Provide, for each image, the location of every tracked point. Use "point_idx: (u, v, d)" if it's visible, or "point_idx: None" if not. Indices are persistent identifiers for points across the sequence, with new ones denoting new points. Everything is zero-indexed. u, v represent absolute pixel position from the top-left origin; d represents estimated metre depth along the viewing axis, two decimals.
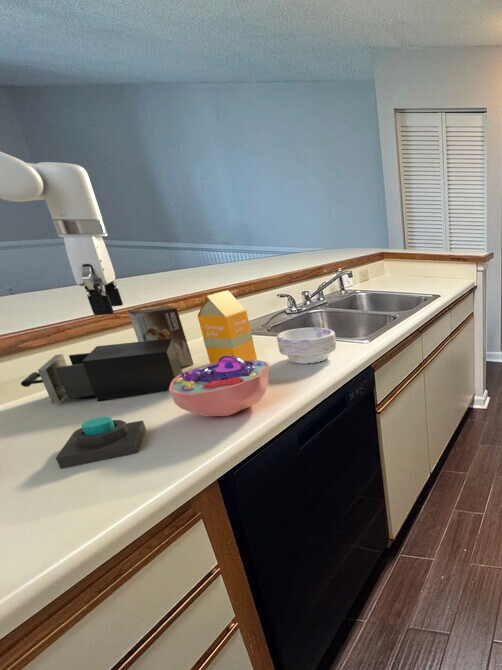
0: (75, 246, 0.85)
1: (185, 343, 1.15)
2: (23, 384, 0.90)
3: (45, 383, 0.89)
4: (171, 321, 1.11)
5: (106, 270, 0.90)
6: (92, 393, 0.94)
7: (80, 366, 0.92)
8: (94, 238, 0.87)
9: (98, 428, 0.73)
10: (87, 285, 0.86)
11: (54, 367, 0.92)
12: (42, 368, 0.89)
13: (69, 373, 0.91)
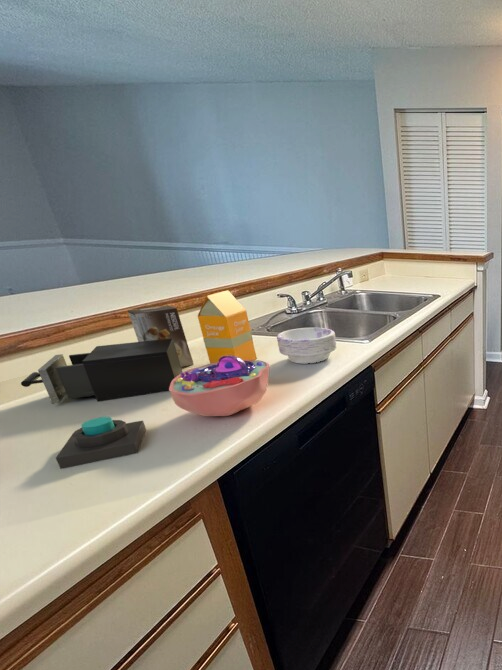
0: None
1: (185, 343, 1.15)
2: (23, 384, 0.90)
3: (45, 383, 0.89)
4: (171, 321, 1.11)
5: None
6: (92, 393, 0.94)
7: (80, 366, 0.92)
8: None
9: (98, 428, 0.73)
10: None
11: (54, 367, 0.92)
12: (42, 368, 0.89)
13: (69, 373, 0.91)
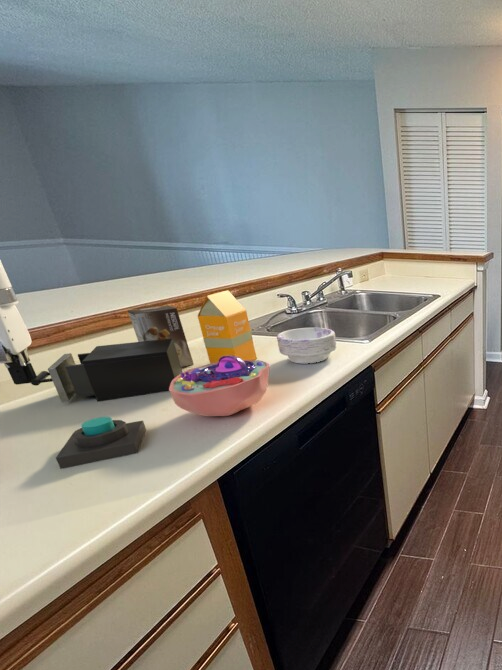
0: None
1: (185, 343, 1.15)
2: (33, 383, 0.90)
3: (55, 382, 0.90)
4: (171, 321, 1.11)
5: (16, 339, 0.87)
6: None
7: None
8: (1, 308, 0.84)
9: (98, 428, 0.73)
10: None
11: (63, 366, 0.93)
12: (52, 367, 0.90)
13: (79, 372, 0.92)
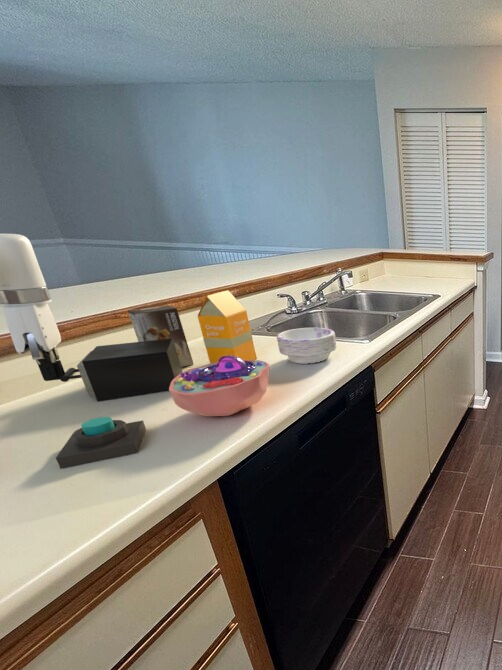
0: (16, 316, 0.85)
1: (185, 343, 1.15)
2: (62, 379, 0.93)
3: (83, 378, 0.92)
4: (171, 321, 1.11)
5: (49, 336, 0.90)
6: None
7: None
8: (36, 306, 0.87)
9: (98, 428, 0.73)
10: None
11: None
12: (80, 363, 0.92)
13: None
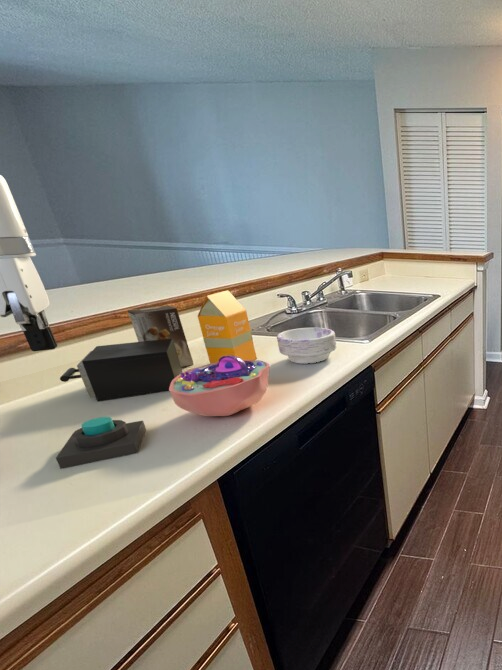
0: None
1: (185, 343, 1.15)
2: (62, 379, 0.93)
3: (83, 378, 0.92)
4: (171, 321, 1.11)
5: (35, 297, 0.75)
6: None
7: None
8: (17, 259, 0.72)
9: (98, 428, 0.73)
10: (23, 324, 0.75)
11: None
12: (80, 363, 0.92)
13: None
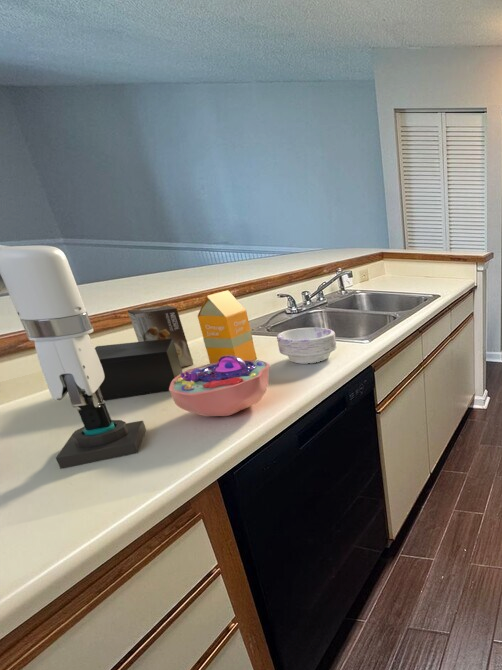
0: (50, 353, 0.65)
1: (185, 343, 1.15)
2: None
3: None
4: (171, 321, 1.11)
5: (92, 376, 0.70)
6: None
7: None
8: (75, 339, 0.67)
9: None
10: None
11: None
12: None
13: None
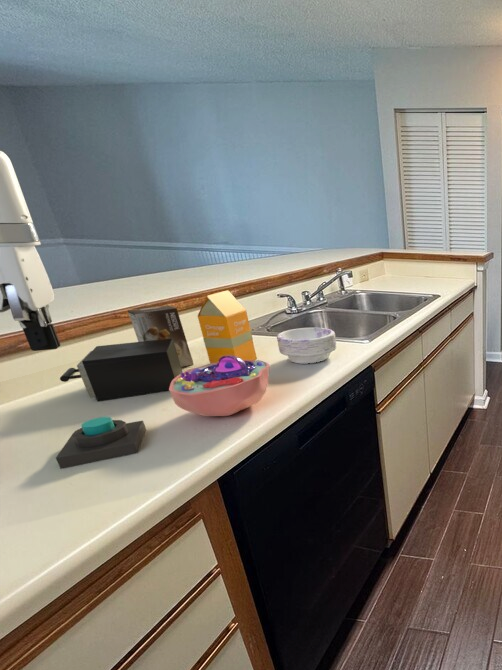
0: None
1: (185, 343, 1.15)
2: (62, 379, 0.93)
3: (83, 378, 0.92)
4: (171, 321, 1.11)
5: (36, 291, 0.67)
6: None
7: None
8: (18, 248, 0.64)
9: (98, 429, 0.73)
10: (22, 320, 0.67)
11: None
12: (80, 363, 0.92)
13: None
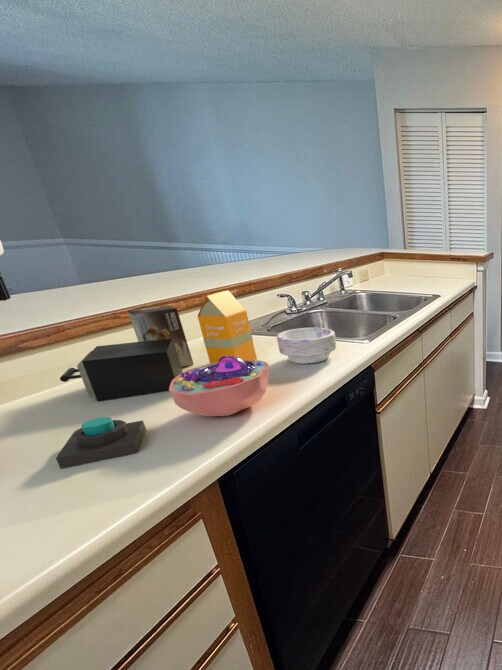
0: None
1: (185, 343, 1.15)
2: (62, 379, 0.93)
3: (83, 378, 0.92)
4: (171, 321, 1.11)
5: None
6: None
7: None
8: None
9: (98, 429, 0.73)
10: None
11: None
12: (80, 363, 0.92)
13: None
